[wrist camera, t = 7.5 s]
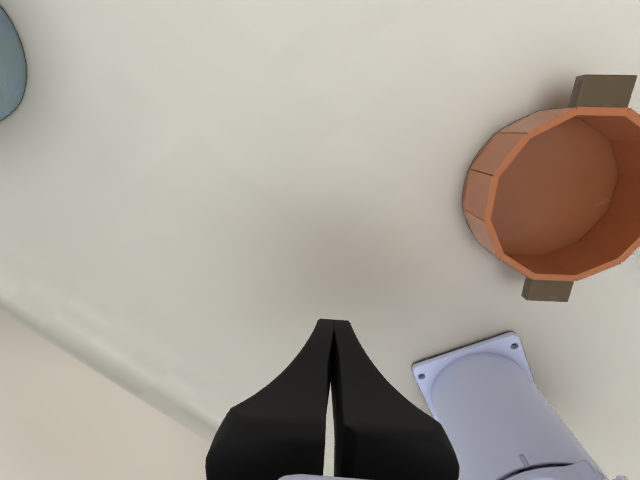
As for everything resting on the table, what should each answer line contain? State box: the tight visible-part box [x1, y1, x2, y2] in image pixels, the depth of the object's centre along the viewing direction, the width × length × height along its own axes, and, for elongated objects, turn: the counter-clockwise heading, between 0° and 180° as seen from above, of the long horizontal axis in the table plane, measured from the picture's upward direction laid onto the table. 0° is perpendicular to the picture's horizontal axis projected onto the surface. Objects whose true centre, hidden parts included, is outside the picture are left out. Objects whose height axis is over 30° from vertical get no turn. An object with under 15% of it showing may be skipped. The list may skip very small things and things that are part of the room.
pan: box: [462, 75, 640, 302], centre depth 18 cm, size 9×12×4 cm
